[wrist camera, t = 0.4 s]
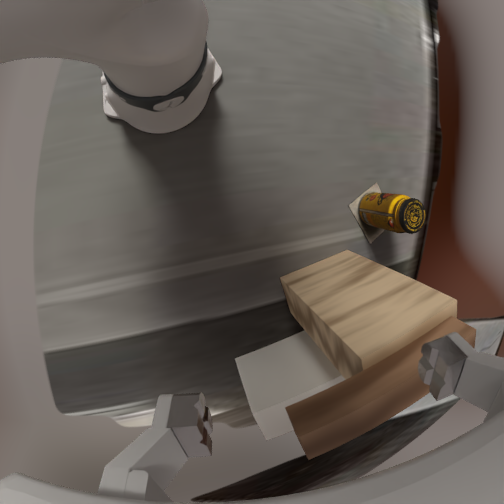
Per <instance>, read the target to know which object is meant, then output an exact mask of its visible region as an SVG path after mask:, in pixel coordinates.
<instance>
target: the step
mask: <svg viewBox="0 0 504 504" xmlns="http://www.w3.org/2000/svg"><path fill="white" fill-rule="evenodd" d="M235 361H236V364H237V368H238V371H239V374H240V377H241V380H242V384H243V387H244V390H245V393H246V396H247V399H248V402H249V405H250V408H251V411H252V414H253V416H254V418H255V420H256V422H257V424H258V426H259V428H260V430H261V431H262V433H263V435H264V437H265V439H266V441H268V440H270V439H273V438H276V437H278V436H281V435H284V434H286V433H289V432H291V431H293V430H294V429H293V426H292V424H291V421H290V419H289V416H288V414H287V411H286V409H285V407H287V406H290V405H292V404H294V403H297V402H299V401H301V400H304V399H306V398H308V397H310V396H313V395H315V394H317V393H319V392H321V391H323V390H326V389H328V388H330V387H332V386H334V385H336V384H338V383H340V382H342V381H344V380H345V378H344V377H343V376H342V375H341V374H340V372H339V371H338V370H337V369H336V368H335V366H334V365H333V364H332V363H331V361H330V360H329V359H328V358H327V357H326V355H325V354H324V353H323V352H322V351H321V349H320V348H319V347H318V346H317V344H316V343H315V342H314V341H313V340H312V338H311V337H310V336H309V335H308V333H307V332H306V331H305V330H304V331H302V332H299V333H297V334H295V335H292V336H290V337H288V338H285V339H283V340H281V341H278V342H276V343H273V344H271V345H268V346H266V347H263V348H261V349H258V350H256V351H253V352H251V353H248V354H245V355H243V356H240V357H238V358H235Z"/></svg>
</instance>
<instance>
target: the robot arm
mask: <svg viewBox="0 0 504 504" xmlns="http://www.w3.org/2000/svg"><path fill="white" fill-rule="evenodd" d="M208 23H209V18H208V12H207V9H206V6H205V4H204V2H203V1H202V0H0V64H1V63H5V62H10V61H14V60H20V59H27V58H46V57H47V58H62V59H71V60H77V61H83V62H88V63H91V64H95V65H97V66H98V67H99V68H100V69H101V70H102V71H103V76H102V77H101V83H102V85H103V104H104V112H105V114H106V115H107V116H109V117H112V118H116V119H122V120H124V121H126V122H128V123H129V124H130V125H132V126H133V127H135V128H137V129H139V130H141V131H144V132H148V133H168V132H172V131H175V130H178V129H180V128H182V127H184V126H186V125H187V124H189V123H190V122H192V121H193V120H194V119H195V118H196V117H197V116H198V115H199V114H200V112H201V111H202V110H203V108H204V106H205V104H206V102H207V99H208V96H209V93H210V91H211V89H212V87H213V86H214V85H215V84H216V83H217V82H218V81H219V80H220V78H221V76H222V70H221V68H220V66H219V65H218V63H217V62H216V60H215V58H214V57H213V55H212V54H211V52H210V51H209V49H208V48H207V42H206V36H207V30H208ZM421 353H422V354H423V356H422V357H421V359H420V360H419V363H418V373H419V376H420V379H421V380H422V381H423V383H425V384H427V385H429V391H430V393H431V394H432V395H433V397H434V398H435V399H436V401H438V400H441V399H443V398H445V397H448V396H450V395H452V394H454V395H455V396H457V397H459V398H461V399H463V400H465V401H467V402H469V403H471V404H473V405H475V406H477V407H479V408H481V409H483V410H485V411H487V412H488V414H487V416H486V418H485V419H484V422H483V423H482V424H480V425H479V426H477V427H475V428H474V429H472V430H470V431H469V432H467V433H465V434H463V435H461V436H460V437H458V438H456V439H454V440H452V441H450V442H448V443H446V444H444V445H442V446H440V447H438V448H436V449H434V450H432V451H429V452H427V453H425V454H423V455H421V456H418V457H416V458H414V459H412V460H409V461H406V462H404V463H401V464H399V465H396V466H394V467H391V468H388V469H386V470H383V471H380V472H377V473H374V474H371V475H368V476H365V477H362V478H358V479H355V480H352V481H348V482H345V483H341V484H337V485H333V486H329V487H325V488H321V489H317V490H312V491H307V492H302V493H297V494H291V495H286V496H279V497H272V498H265V499H256V500H247V501H234V502H216V503H174V502H173V501H172V500H171V499H170V498H169V497H168V496H167V494H165V492H164V490H165V489H166V488H167V486H168V485H169V484H170V482H171V481H172V480H173V478H174V477H175V476H176V474H177V473H178V472H179V471H180V469H181V468H182V466H183V465H184V464H185V463H186V461H187V460H188V457H203V456H211V455H212V440H211V438H210V436H209V435H210V434H211V433H212V418H211V414H210V410H209V408H208V407H206V406H205V398H204V395H203V393H201V392H199V393H183V394H166V395H160V396H159V398H158V401H157V405H156V409H155V414H154V418H153V422H152V427H151V428H147V429H146V430H145V431H144V432H143V433H142V434H141V435H140V436H139V437H137V438H136V439H135V440H134V441H133V442H132V443H131V444H130V445H129V446H127V447H126V448H125V449H124V450H123V451H122V452H121V453H120V454H119V455H118V456H116V457H115V458H114V459H113V460H112V461H111V462H109V463H108V464H107V465H106V466H105V469H104V473H103V476H102V479H101V483H100V486H99V490H98V494H94V493H90V492H85V491H80V490H76V489H72V488H68V487H64V486H60V485H56V484H53V483H49V482H46V481H43V480H39V479H36V478H33V477H30V476H27V475H25V474H22V473H12V474H10V475H8V476H6V477H5V478H3V479H1V480H0V504H504V358H501V357H498V356H494V355H491V354H487V353H484V352H479V353H478V352H477V351H476V350H475V349H474V348H473V347H472V346H471V345H470V344H469V343H468V342H467V341H466V340H465V339H463V338H462V337H461V336H460V335H459V334H458V333H457V332H452V333H450V334H447V335H445V336H442V337H440V338H437V339H435V340H432V341H429V342H427V343H424V344H423V346H422V349H421Z"/></svg>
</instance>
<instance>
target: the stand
mask: <svg viewBox="0 0 504 504" xmlns="http://www.w3.org/2000/svg"><path fill="white" fill-rule="evenodd" d="M280 280H281V283H282V286H283V290H284V293H285V296H286V299H287V303H288V306H289V309H290V312H291V314H292V315H293V316H294V318H295V319H296V320H297V321H298V322H299V324H300V325H301V326H302V327H303V329H304V330H305V331H306V332H307V333H308V335H309V336H310V337H311V338H312V340H313V341H314V342H315V343H316V344H317V346H318V347H319V348H320V349H321V351H322V352H323V353H324V354H325V355H326V357H327V358H328V359H329V360H330V361H331V363H332V364H333V365H334V366H335V368H336V369H337V370H338V371H339V372H340V374H341V375H342V376H343V377H344V378H345V380H346V379H348V378H350V377H352V376H354V375H356V374H358V373H359V372H361V371H363V370H365V369H367V368H369V367H371V366H372V365H374V364H376V363H378V362H380V361H381V360H383V359H385V358H387V357H388V356H390V355H392V354H393V353H395V352H397V351H398V350H400V349H402V348H403V347H405V346H407V345H408V344H410V343H411V342H413V341H415V340H416V339H418V338H419V337H421V336H422V335H424V334H425V333H427V332H428V331H430V330H431V329H433V328H434V327H436V326H437V325H439V324H440V323H442V322H443V321H444V320H446V319H447V318H449V317H450V316H453V317H455V318H456V319H457V300H456V299H454V298H451V297H449V296H448V295H445V294H443V293H441V292H439V291H437V290H435V289H433V288H431V287H429V286H426V285H424V284H422V283H420V282H418V281H416V280H414V279H411V278H409V277H407V276H405V275H403V274H400V273H398V272H396V271H394V270H392V269H389V268H387V267H385V266H383V265H381V264H378V263H376V262H374V261H372V260H369V259H367V258H365V257H362V256H360V255H358V254H356V253H353V252H351V251H349V250H345V251H343V252H341V253H338V254H336V255H333V256H331V257H329V258H326V259H324V260H321V261H319V262H316V263H314V264H312V265H309V266H307V267H304V268H302V269H299V270H297V271H294V272H292V273H289V274H287V275H284V276H282V277H280Z"/></svg>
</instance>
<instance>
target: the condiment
mask: <svg viewBox="0 0 504 504" xmlns="http://www.w3.org/2000/svg"><path fill="white" fill-rule="evenodd" d="M349 207H350V209H351V211H352V212H353V214H354V216H355V218H356V220H357V221H358V223H359V225H360V227H361V228H362V230H363V232H364V234H365V236H366V237H367V239H368V241H369V243H370V244H371V243H372V242H373V241H374V240H375V239H376V238H377V237H378V236H379V235H380V234H381V233H382V232H384V231H385V230H389V231H393V232H396V233H411V234H413V233H416V232H418V231H419V230H420V229H421V228H422V227H423V225H424V222H425V209H424V206H423V204H422V203H421V202H420V201H419V200H417V199H415V198H409V197H408V196H405V195H401V194H389V193H382V192H381V190H380V188H379V187H378V185H377V183H376V184H374V185H373V186H372V187H371V188H369V189H368V190H367V191H366V192H364V193H363V194H362V195H361V196H359V197H358V198H357V199H356V200H355V201H354V202H352V203H351V204H350V205H349Z"/></svg>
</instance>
